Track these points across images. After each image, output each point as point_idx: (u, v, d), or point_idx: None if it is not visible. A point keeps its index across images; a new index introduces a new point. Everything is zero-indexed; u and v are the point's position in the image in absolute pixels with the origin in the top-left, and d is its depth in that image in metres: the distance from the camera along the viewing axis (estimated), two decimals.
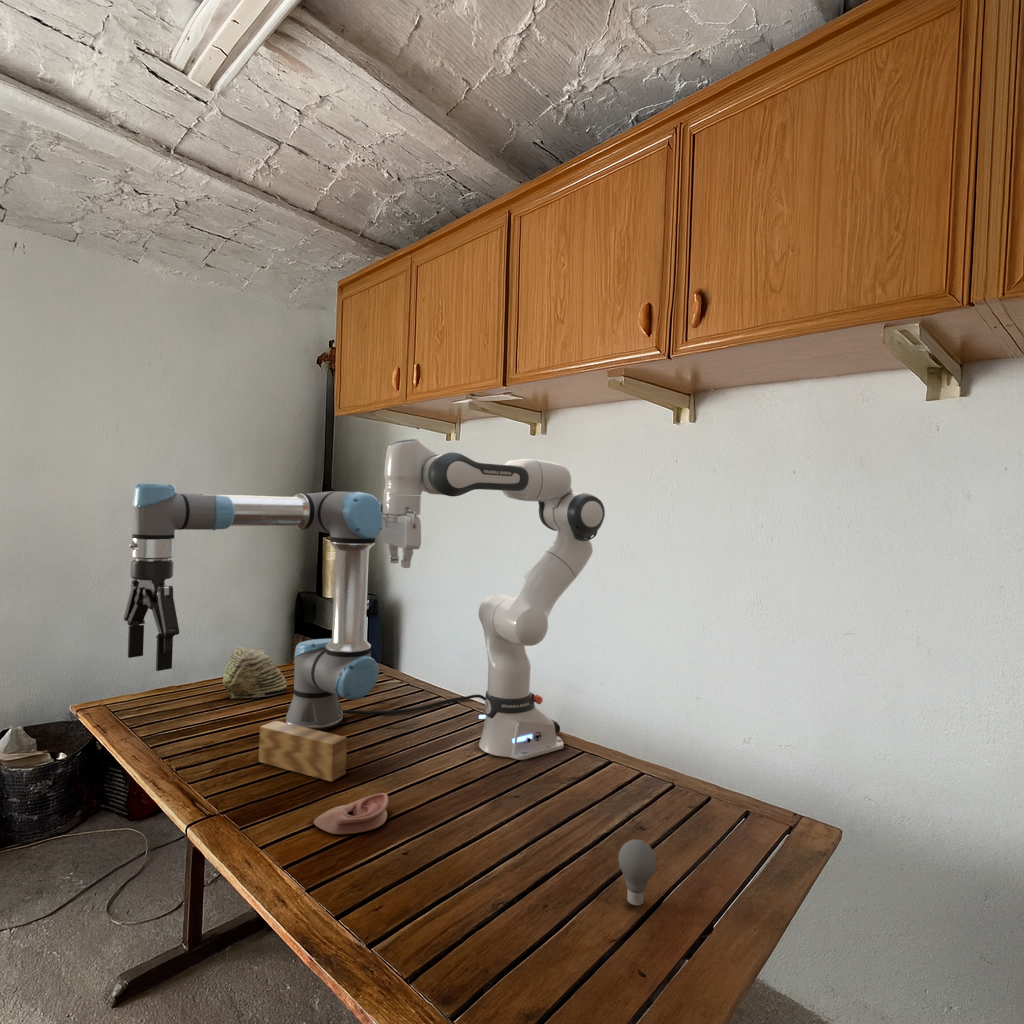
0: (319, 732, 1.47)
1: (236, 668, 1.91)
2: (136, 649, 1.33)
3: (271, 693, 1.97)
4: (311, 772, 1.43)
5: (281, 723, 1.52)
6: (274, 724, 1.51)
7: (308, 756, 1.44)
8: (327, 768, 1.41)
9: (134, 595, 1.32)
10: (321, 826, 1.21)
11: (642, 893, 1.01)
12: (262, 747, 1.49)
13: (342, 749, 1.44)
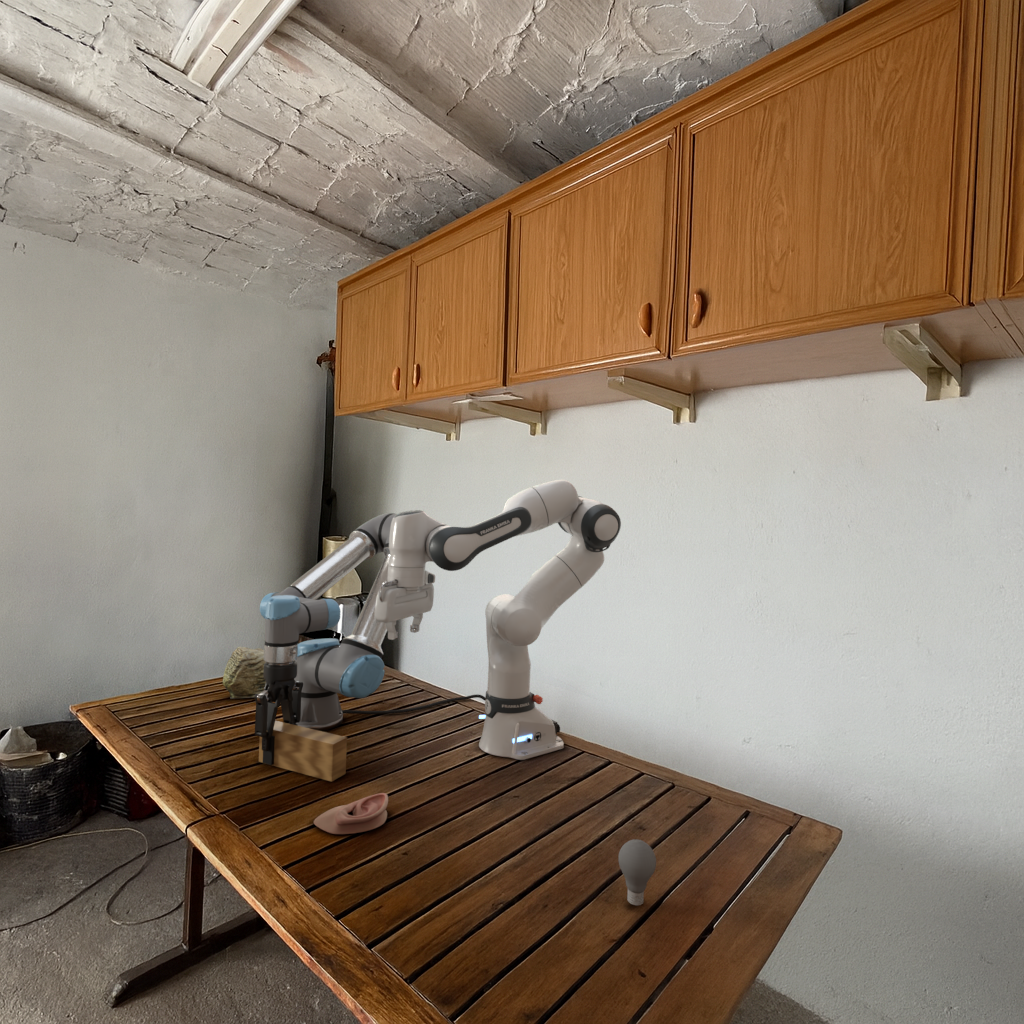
0: (319, 732, 1.47)
1: (236, 668, 1.91)
2: None
3: None
4: (311, 772, 1.43)
5: (281, 723, 1.52)
6: (274, 724, 1.51)
7: (308, 756, 1.44)
8: (327, 768, 1.41)
9: None
10: (321, 826, 1.21)
11: (642, 893, 1.01)
12: None
13: (342, 749, 1.44)
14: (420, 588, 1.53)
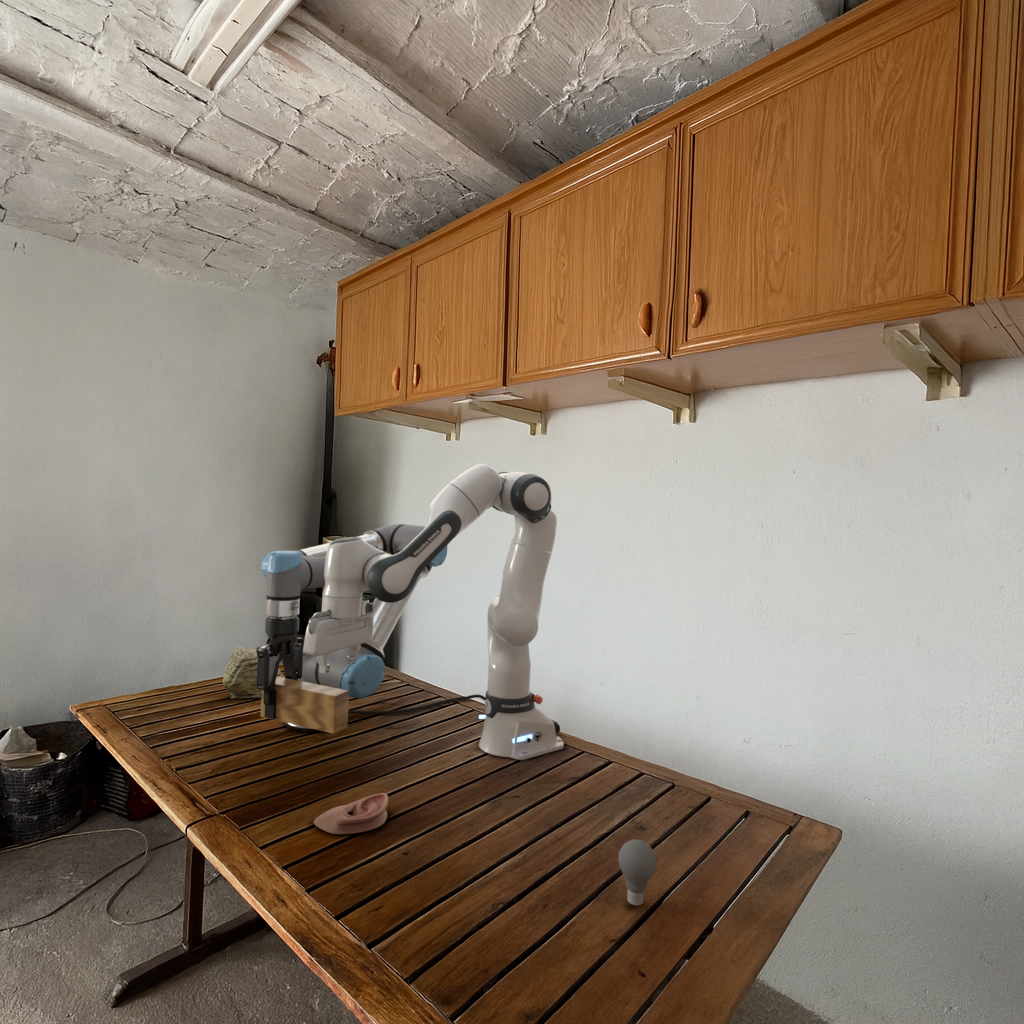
0: (321, 686, 1.47)
1: (236, 668, 1.91)
2: None
3: None
4: (313, 725, 1.43)
5: (283, 678, 1.52)
6: (276, 679, 1.51)
7: (310, 709, 1.43)
8: (329, 721, 1.41)
9: None
10: (321, 826, 1.21)
11: (642, 893, 1.01)
12: None
13: (344, 702, 1.44)
14: (357, 618, 1.46)
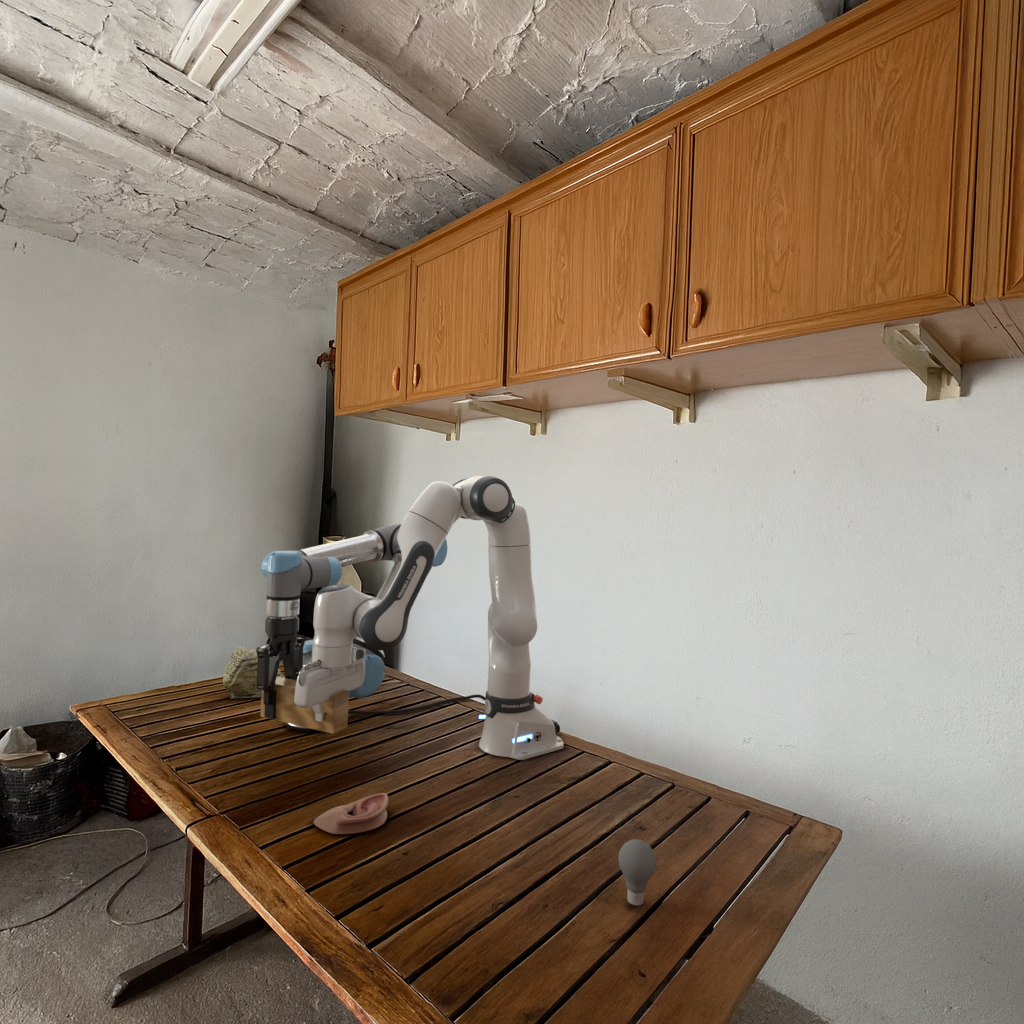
0: None
1: (236, 668, 1.91)
2: None
3: None
4: (313, 725, 1.43)
5: (283, 678, 1.52)
6: (276, 679, 1.51)
7: (309, 709, 1.43)
8: (329, 721, 1.41)
9: None
10: (321, 826, 1.21)
11: (642, 893, 1.01)
12: None
13: (344, 702, 1.44)
14: (348, 665, 1.46)
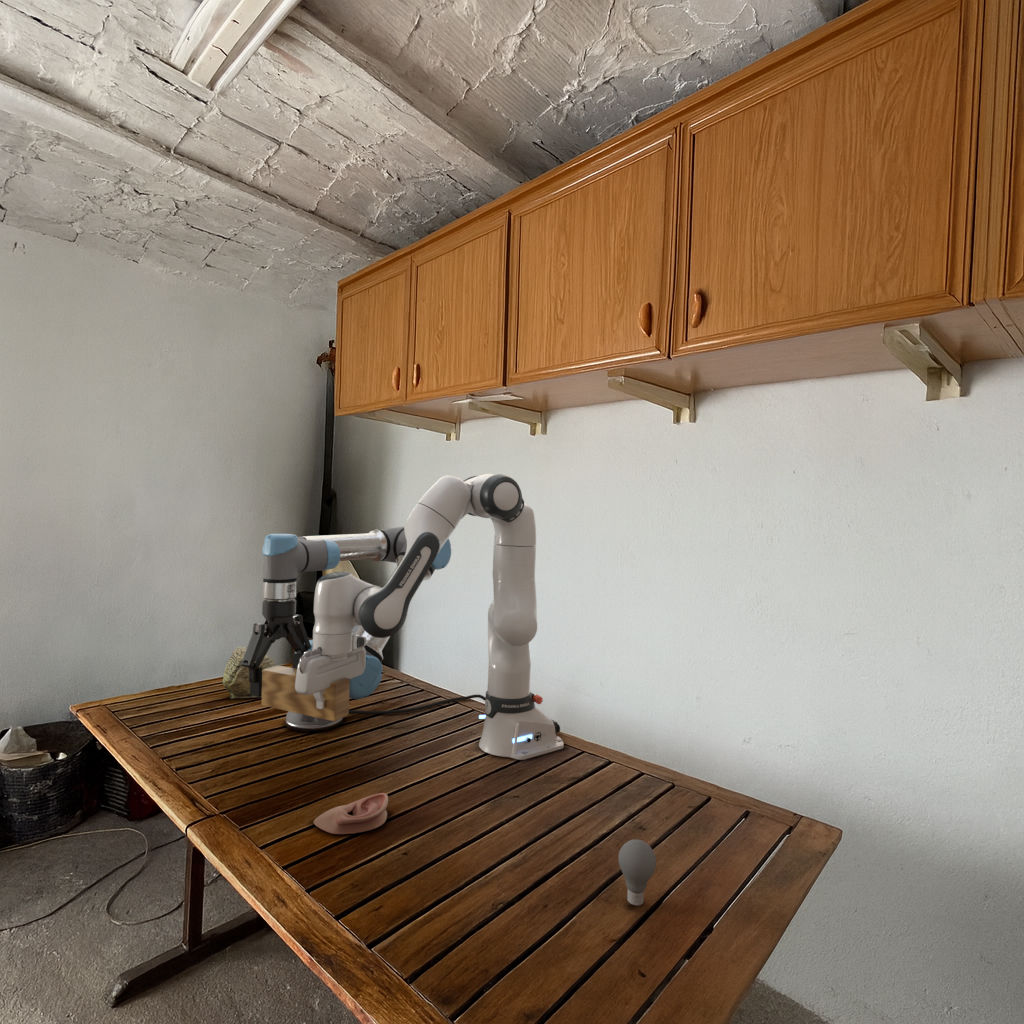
0: None
1: (236, 668, 1.91)
2: None
3: None
4: (314, 713, 1.43)
5: (284, 667, 1.52)
6: (277, 668, 1.51)
7: (310, 697, 1.43)
8: (330, 708, 1.41)
9: None
10: (321, 826, 1.21)
11: (642, 893, 1.01)
12: (265, 690, 1.49)
13: (345, 690, 1.44)
14: (348, 653, 1.46)
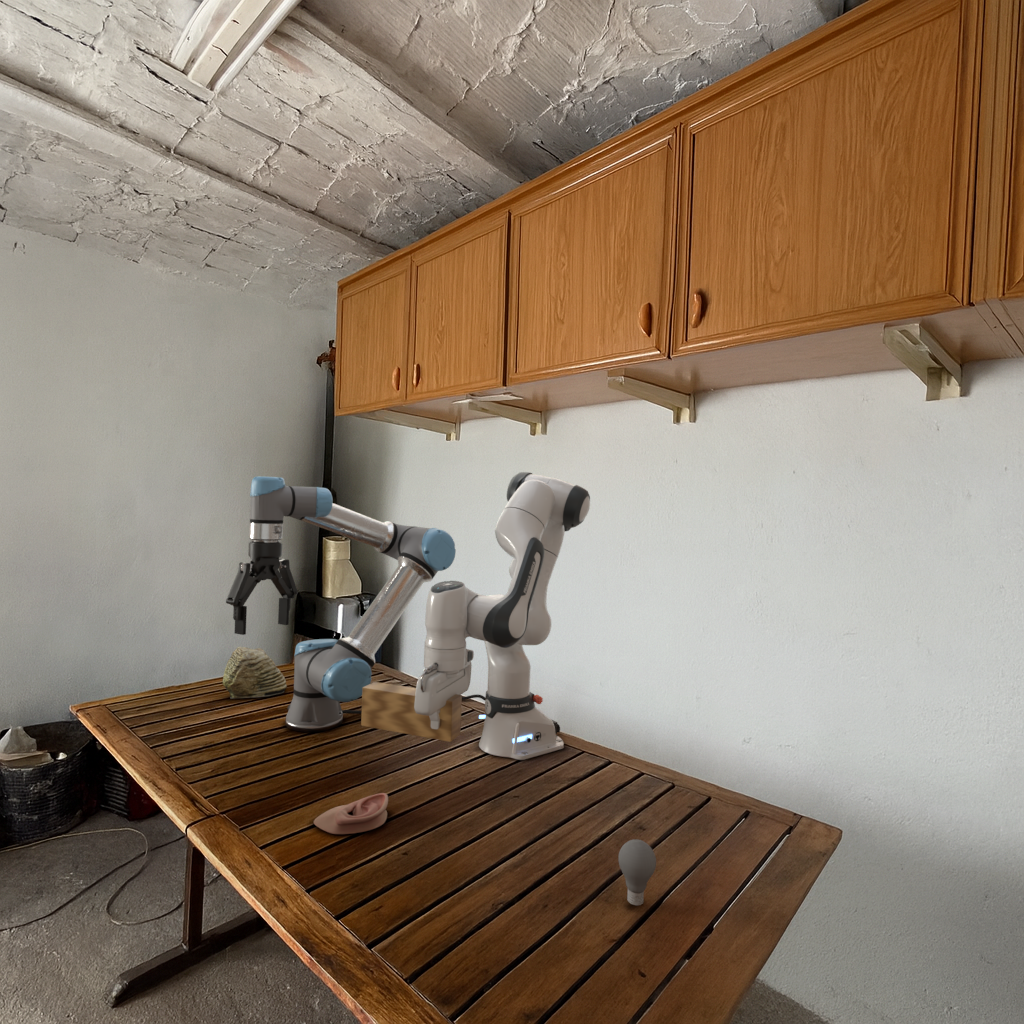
0: None
1: (236, 668, 1.91)
2: None
3: (271, 693, 1.97)
4: (425, 733, 1.33)
5: (383, 684, 1.41)
6: (376, 685, 1.40)
7: (421, 716, 1.33)
8: (445, 728, 1.32)
9: None
10: (321, 826, 1.21)
11: (642, 893, 1.01)
12: (365, 709, 1.38)
13: (458, 708, 1.34)
14: None
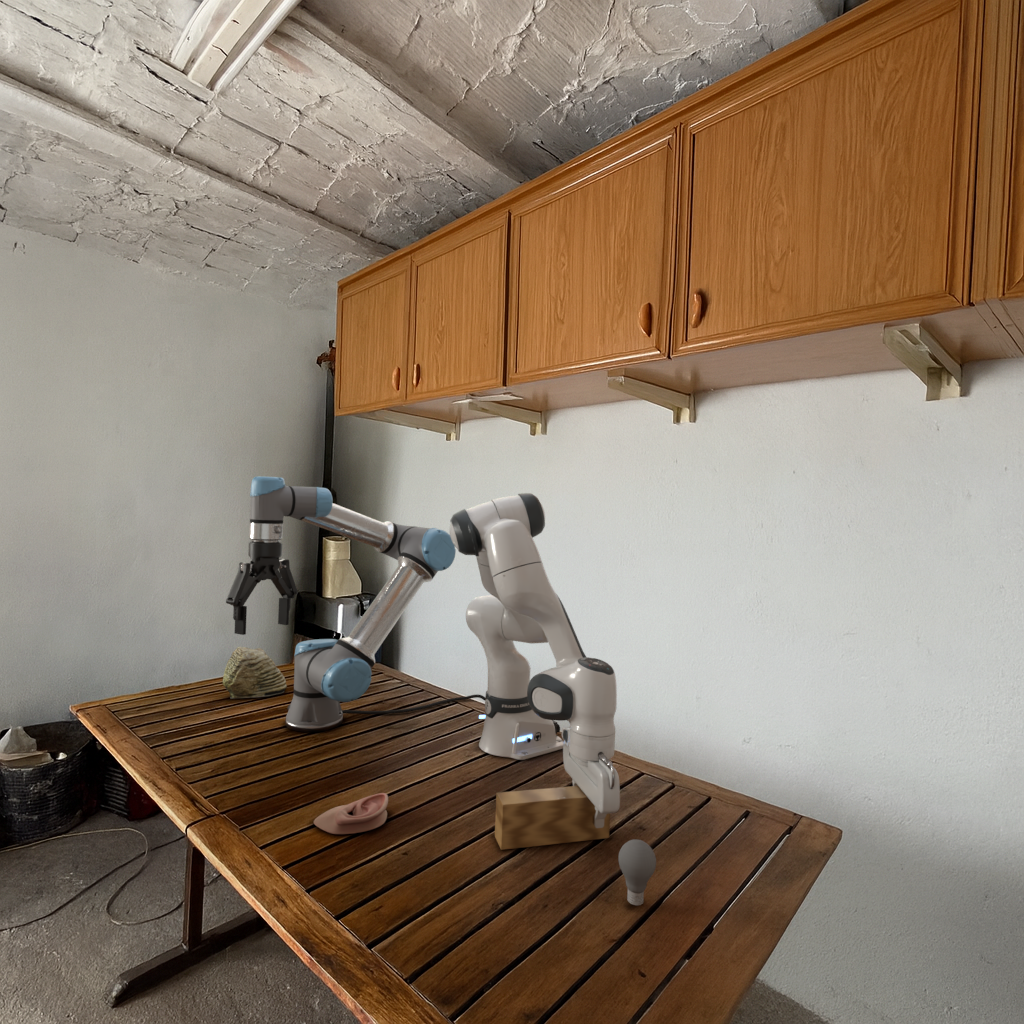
0: (568, 788, 1.24)
1: (236, 668, 1.91)
2: None
3: (271, 693, 1.97)
4: (581, 836, 1.21)
5: (512, 793, 1.21)
6: (508, 796, 1.20)
7: (576, 819, 1.20)
8: None
9: None
10: (321, 826, 1.21)
11: (642, 893, 1.01)
12: (507, 829, 1.17)
13: None
14: None
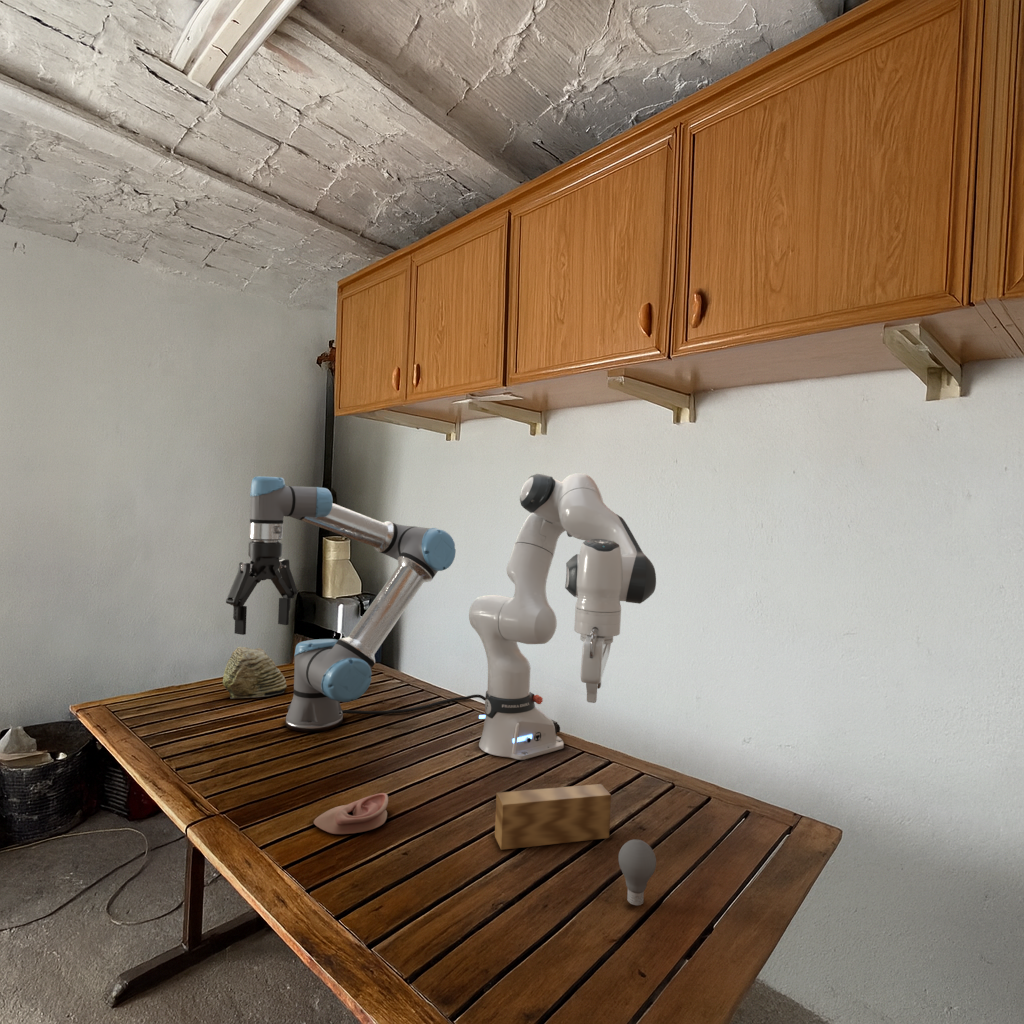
0: (568, 788, 1.24)
1: (236, 668, 1.91)
2: None
3: (271, 693, 1.97)
4: (581, 836, 1.21)
5: (512, 793, 1.21)
6: (508, 796, 1.20)
7: (576, 819, 1.20)
8: (603, 825, 1.22)
9: None
10: (321, 826, 1.21)
11: (642, 893, 1.01)
12: (507, 829, 1.17)
13: None
14: None
